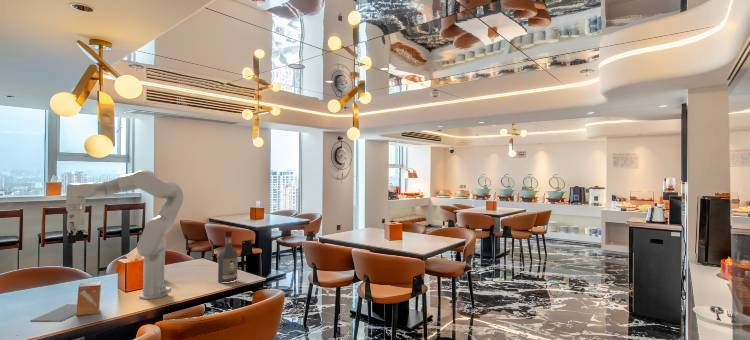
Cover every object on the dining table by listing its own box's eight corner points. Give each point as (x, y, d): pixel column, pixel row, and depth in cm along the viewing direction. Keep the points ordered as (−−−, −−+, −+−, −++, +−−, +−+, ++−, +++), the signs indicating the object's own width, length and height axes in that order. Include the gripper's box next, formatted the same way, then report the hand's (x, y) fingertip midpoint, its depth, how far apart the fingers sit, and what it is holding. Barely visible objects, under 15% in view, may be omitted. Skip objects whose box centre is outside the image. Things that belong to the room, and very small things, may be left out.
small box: (76, 316, 167) (78, 286, 167) (77, 311, 172) (79, 282, 172) (98, 313, 171) (100, 284, 172) (99, 308, 177) (101, 280, 177)
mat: (94, 305, 182) (94, 304, 182) (61, 321, 162) (61, 320, 162) (67, 305, 181) (67, 304, 181) (30, 321, 161) (30, 320, 161)
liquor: (216, 281, 223) (217, 230, 224) (231, 278, 230) (232, 229, 231) (224, 284, 217) (225, 232, 218) (238, 281, 224) (239, 230, 225)
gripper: (77, 208, 184) (77, 244, 184) (91, 205, 200) (91, 238, 200) (59, 209, 181) (58, 245, 181) (74, 206, 198) (73, 239, 198)
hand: (75, 241), depth 191 cm, fingers open, 9 cm apart
